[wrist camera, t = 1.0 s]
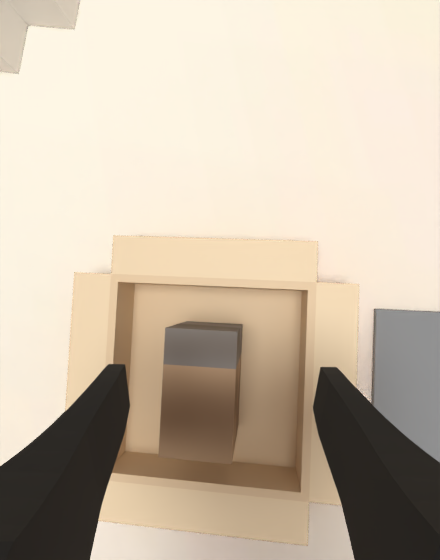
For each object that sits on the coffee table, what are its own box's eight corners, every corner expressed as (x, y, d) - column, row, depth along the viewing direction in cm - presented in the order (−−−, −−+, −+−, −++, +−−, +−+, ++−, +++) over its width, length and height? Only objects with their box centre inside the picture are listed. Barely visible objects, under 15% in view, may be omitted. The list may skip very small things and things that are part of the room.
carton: (338, 514, 24) (351, 551, 21) (85, 486, 26) (58, 516, 23) (346, 250, 25) (360, 242, 22) (100, 242, 27) (76, 234, 24)
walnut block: (238, 425, 25) (231, 464, 19) (181, 420, 26) (158, 457, 20) (242, 324, 25) (237, 331, 20) (186, 321, 26) (165, 327, 20)
